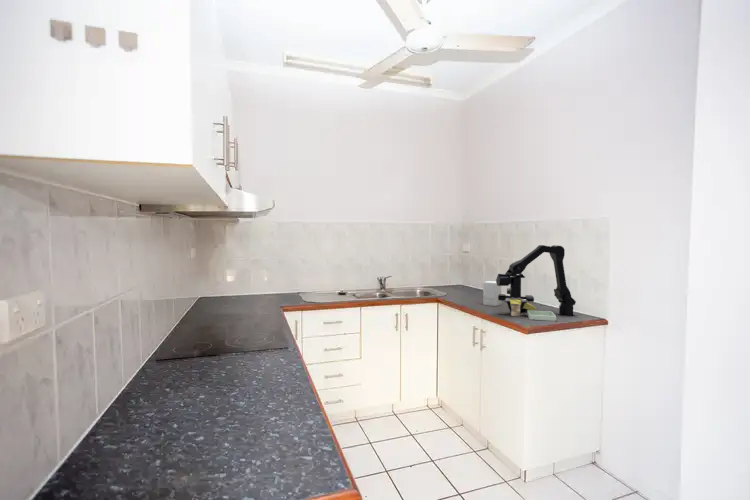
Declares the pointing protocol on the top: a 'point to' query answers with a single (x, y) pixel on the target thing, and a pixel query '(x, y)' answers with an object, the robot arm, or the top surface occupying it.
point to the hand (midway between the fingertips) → (515, 313)
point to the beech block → (515, 309)
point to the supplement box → (491, 293)
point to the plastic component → (526, 305)
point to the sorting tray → (541, 315)
